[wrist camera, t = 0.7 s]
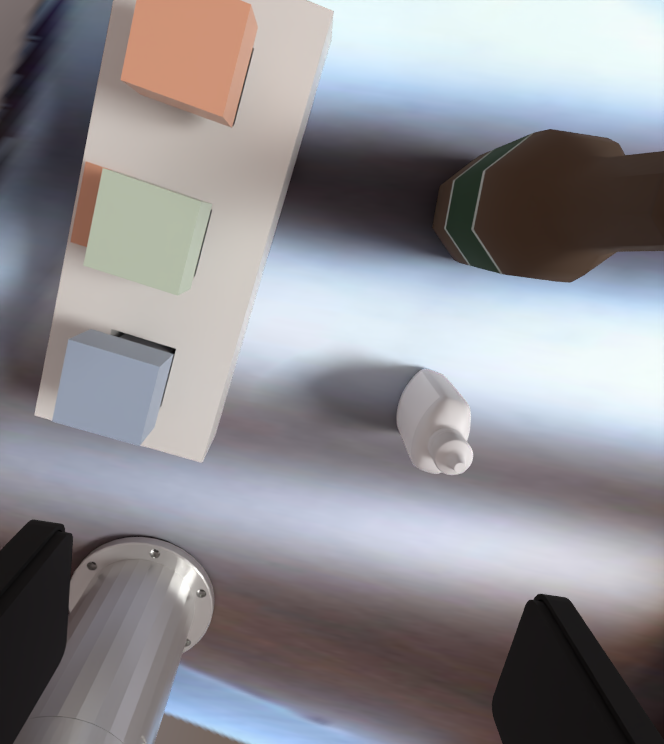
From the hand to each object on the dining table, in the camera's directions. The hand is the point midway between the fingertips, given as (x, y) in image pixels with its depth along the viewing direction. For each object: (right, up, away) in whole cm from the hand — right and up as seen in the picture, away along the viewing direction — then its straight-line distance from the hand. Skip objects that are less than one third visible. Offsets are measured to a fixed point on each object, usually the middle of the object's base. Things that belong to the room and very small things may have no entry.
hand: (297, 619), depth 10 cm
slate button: (-13, +6, +27) cm, 31 cm away
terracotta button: (-7, +23, +22) cm, 33 cm away
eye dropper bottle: (+8, +3, +31) cm, 33 cm away
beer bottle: (+12, +17, +28) cm, 34 cm away
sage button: (-10, +15, +25) cm, 30 cm away
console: (-10, +15, +27) cm, 33 cm away
